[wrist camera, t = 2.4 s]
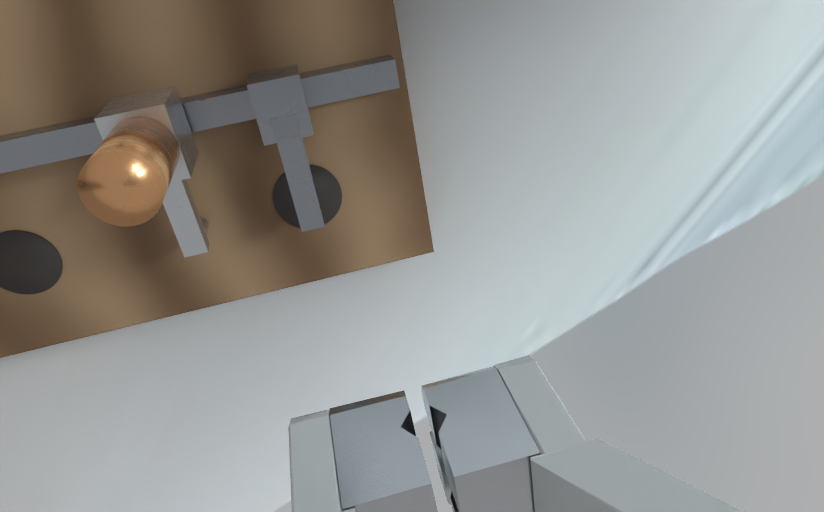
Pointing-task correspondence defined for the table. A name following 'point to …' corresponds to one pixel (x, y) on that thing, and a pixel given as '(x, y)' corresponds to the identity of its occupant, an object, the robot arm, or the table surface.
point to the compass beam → (233, 121)
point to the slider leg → (145, 167)
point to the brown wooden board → (215, 166)
